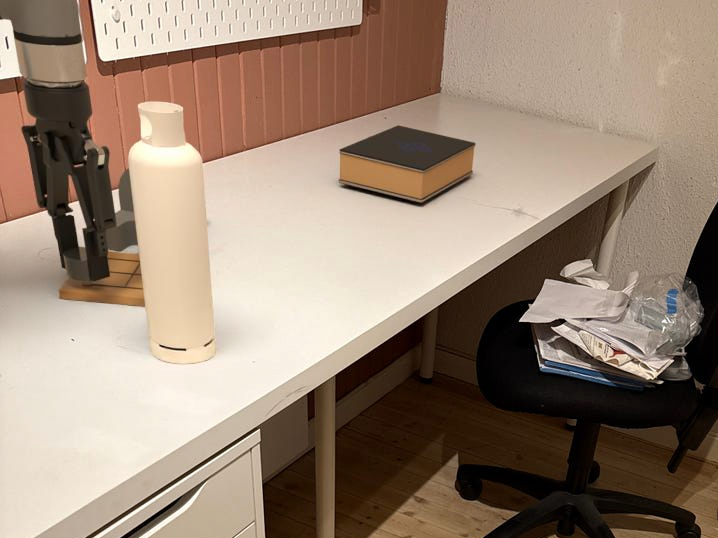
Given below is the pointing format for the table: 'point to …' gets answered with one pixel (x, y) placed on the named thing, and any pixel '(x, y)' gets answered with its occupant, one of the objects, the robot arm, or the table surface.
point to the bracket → (123, 218)
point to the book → (406, 163)
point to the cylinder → (77, 264)
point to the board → (110, 283)
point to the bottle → (172, 236)
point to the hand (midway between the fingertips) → (85, 271)
